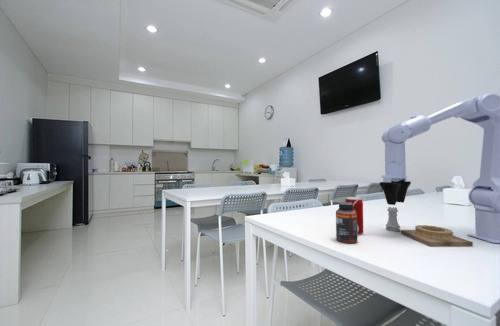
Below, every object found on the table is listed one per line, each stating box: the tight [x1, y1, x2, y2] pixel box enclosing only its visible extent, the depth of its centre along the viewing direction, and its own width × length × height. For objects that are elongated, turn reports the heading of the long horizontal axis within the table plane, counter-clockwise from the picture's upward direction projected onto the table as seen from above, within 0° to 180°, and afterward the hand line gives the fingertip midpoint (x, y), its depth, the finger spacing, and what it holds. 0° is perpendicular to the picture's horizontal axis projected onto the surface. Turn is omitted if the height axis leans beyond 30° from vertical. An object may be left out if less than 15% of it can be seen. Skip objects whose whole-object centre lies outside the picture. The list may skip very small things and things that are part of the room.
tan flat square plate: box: [400, 224, 473, 247], centre depth 68 cm, size 12×12×3 cm
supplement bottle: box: [335, 201, 359, 244], centre depth 67 cm, size 6×6×11 cm
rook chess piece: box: [385, 206, 401, 233], centre depth 78 cm, size 4×4×8 cm
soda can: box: [344, 196, 364, 236], centre depth 75 cm, size 6×6×12 cm
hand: (395, 203), depth 73 cm, fingers open, 7 cm apart
